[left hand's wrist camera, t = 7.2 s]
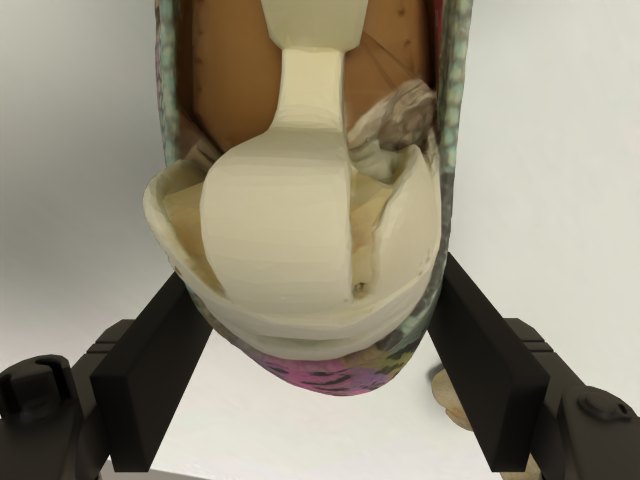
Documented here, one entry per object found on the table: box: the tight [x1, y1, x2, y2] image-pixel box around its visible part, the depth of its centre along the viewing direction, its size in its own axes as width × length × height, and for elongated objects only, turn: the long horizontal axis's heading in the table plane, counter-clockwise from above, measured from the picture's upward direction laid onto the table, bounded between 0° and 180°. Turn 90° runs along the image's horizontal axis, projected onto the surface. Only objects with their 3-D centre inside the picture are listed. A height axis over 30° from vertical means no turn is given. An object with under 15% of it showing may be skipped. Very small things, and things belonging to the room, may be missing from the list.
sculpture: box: [432, 368, 540, 480], centre depth 23 cm, size 6×7×15 cm
